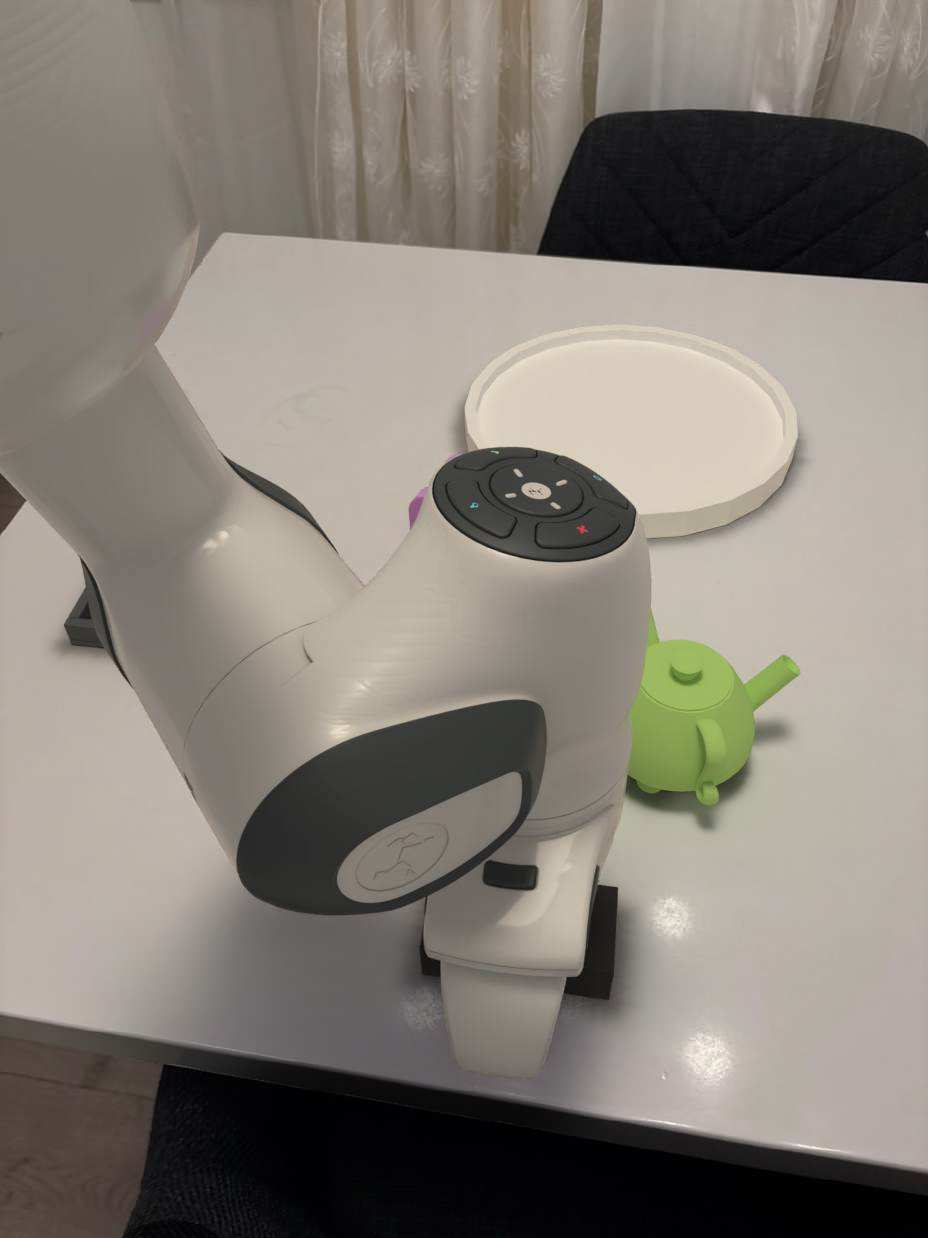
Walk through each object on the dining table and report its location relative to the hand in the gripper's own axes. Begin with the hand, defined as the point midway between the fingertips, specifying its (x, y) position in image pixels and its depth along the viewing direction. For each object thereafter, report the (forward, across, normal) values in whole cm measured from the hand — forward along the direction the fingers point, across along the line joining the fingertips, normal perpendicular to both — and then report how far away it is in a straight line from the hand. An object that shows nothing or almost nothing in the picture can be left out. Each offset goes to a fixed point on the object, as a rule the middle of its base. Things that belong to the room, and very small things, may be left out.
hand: (520, 928), depth 56 cm
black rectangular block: (+2, 0, 0) cm, 2 cm away
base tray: (+2, -25, -29) cm, 39 cm away
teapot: (+2, -15, +8) cm, 17 cm away
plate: (+2, -48, +4) cm, 49 cm away
